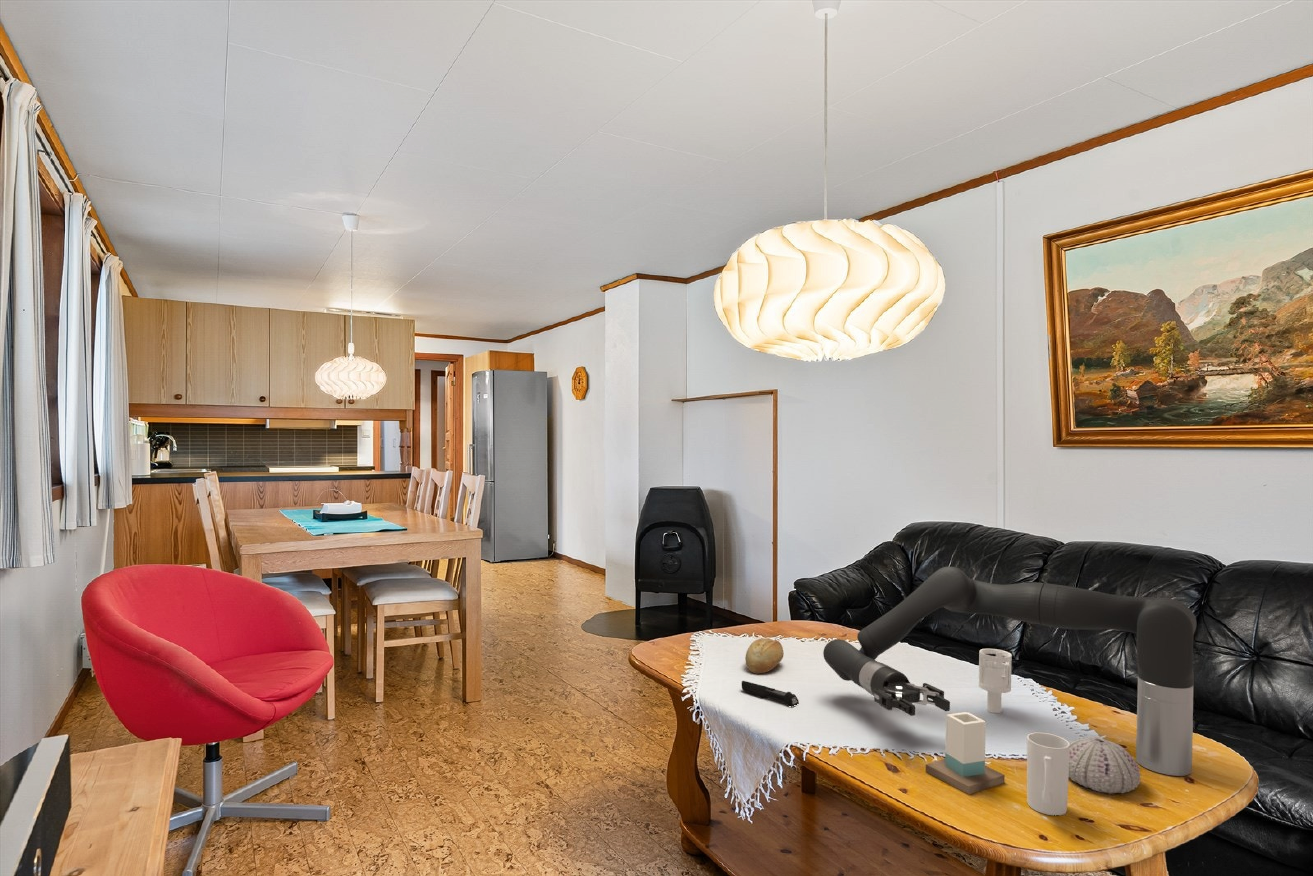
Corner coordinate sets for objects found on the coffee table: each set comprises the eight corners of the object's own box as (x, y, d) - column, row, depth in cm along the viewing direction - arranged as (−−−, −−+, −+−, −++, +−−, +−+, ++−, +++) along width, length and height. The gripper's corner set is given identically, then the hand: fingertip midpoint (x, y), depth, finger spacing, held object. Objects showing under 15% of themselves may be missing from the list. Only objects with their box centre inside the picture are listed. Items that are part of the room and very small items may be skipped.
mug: (1026, 794, 138) (1027, 729, 137) (1068, 803, 135) (1069, 737, 134) (1024, 819, 129) (1025, 750, 129) (1068, 829, 126) (1070, 759, 125)
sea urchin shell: (1156, 789, 140) (1157, 747, 140) (1114, 806, 134) (1115, 761, 134) (1087, 761, 152) (1087, 722, 152) (1045, 775, 146) (1045, 734, 146)
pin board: (960, 761, 151) (961, 729, 151) (1004, 782, 142) (1005, 748, 142) (925, 772, 146) (926, 739, 146) (968, 794, 137) (969, 759, 137)
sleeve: (966, 762, 147) (967, 711, 147) (984, 773, 142) (985, 721, 142) (945, 765, 146) (946, 714, 145) (963, 777, 141) (964, 724, 141)
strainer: (982, 715, 175) (983, 651, 175) (974, 704, 182) (976, 643, 182) (1014, 717, 174) (1015, 653, 174) (1005, 706, 181) (1006, 644, 181)
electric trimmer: (746, 690, 191) (746, 678, 191) (800, 705, 181) (800, 692, 181) (738, 694, 189) (738, 681, 189) (791, 709, 178) (791, 696, 178)
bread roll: (789, 663, 213) (790, 635, 213) (773, 678, 199) (774, 649, 199) (757, 658, 217) (757, 630, 217) (739, 673, 204) (739, 643, 204)
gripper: (856, 668, 166) (902, 694, 151) (910, 663, 171) (960, 687, 155) (856, 702, 166) (901, 731, 151) (909, 695, 171) (959, 723, 155)
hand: (931, 709), depth 153 cm, fingers open, 8 cm apart
